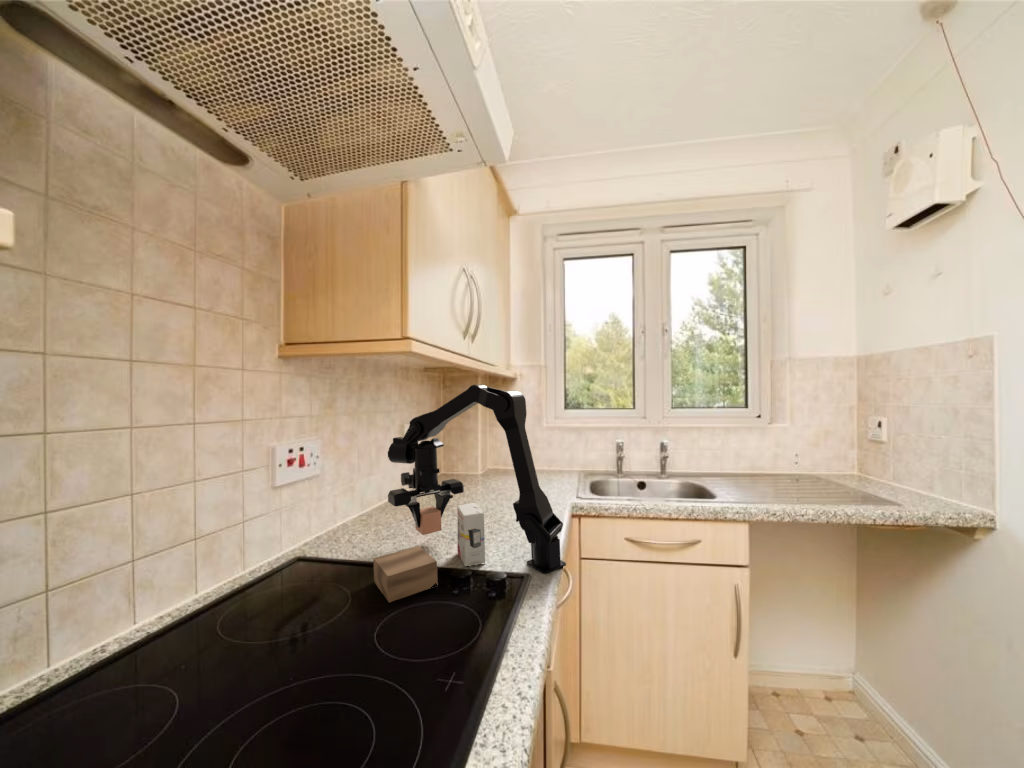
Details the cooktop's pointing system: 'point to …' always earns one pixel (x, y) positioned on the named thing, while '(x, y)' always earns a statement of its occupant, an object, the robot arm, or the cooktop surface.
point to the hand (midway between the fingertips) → (428, 524)
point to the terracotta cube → (429, 520)
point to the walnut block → (405, 573)
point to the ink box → (471, 534)
